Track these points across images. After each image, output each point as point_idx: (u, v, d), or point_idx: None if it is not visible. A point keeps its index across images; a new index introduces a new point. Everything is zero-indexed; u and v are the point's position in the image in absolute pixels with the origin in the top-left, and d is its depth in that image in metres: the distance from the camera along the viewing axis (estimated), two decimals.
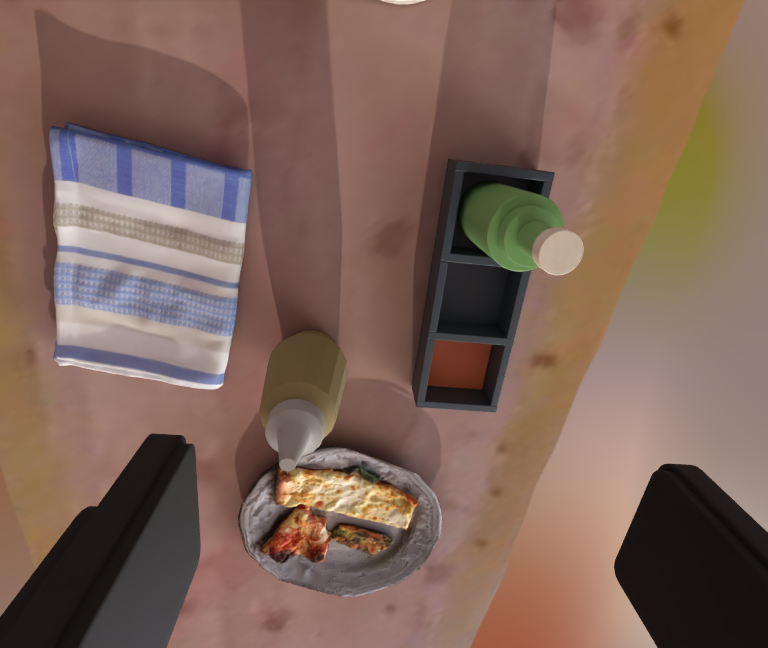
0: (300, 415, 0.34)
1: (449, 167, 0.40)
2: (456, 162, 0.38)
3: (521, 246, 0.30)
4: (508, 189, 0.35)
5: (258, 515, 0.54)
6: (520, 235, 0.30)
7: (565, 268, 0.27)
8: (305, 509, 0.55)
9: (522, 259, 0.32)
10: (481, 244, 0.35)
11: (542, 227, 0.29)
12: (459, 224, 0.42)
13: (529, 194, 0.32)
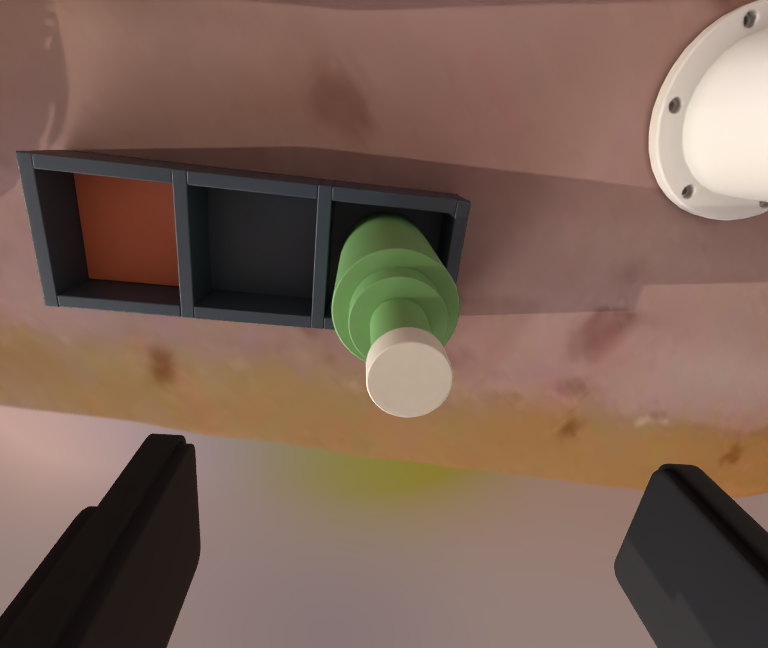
0: None
1: (450, 195, 0.28)
2: (467, 201, 0.26)
3: (390, 307, 0.17)
4: None
5: None
6: (407, 303, 0.17)
7: (379, 393, 0.14)
8: None
9: (361, 312, 0.18)
10: (366, 243, 0.21)
11: None
12: (370, 215, 0.28)
13: (458, 309, 0.20)
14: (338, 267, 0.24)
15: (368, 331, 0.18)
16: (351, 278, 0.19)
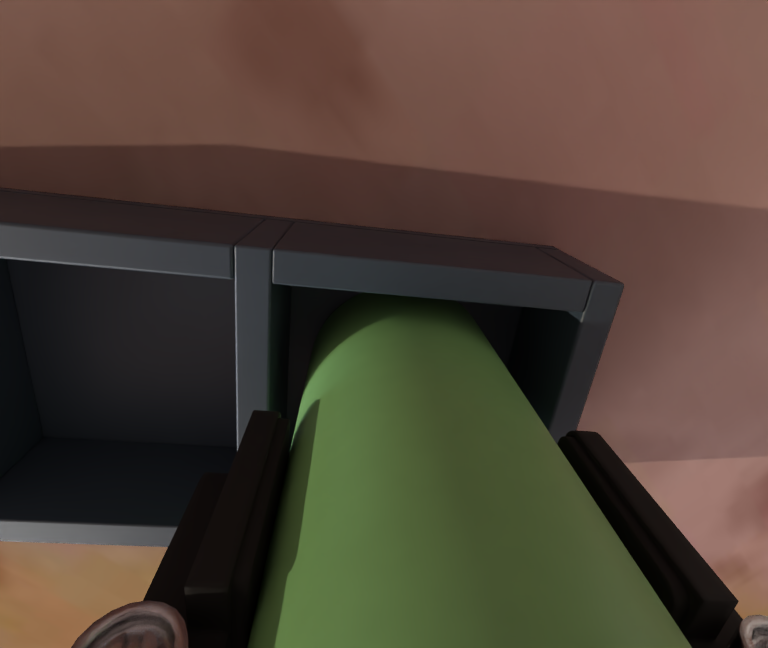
0: None
1: (550, 253, 0.12)
2: (615, 281, 0.10)
3: None
4: None
5: None
6: None
7: None
8: None
9: None
10: (364, 516, 0.05)
11: None
12: (370, 299, 0.12)
13: None
14: (281, 490, 0.08)
15: None
16: None
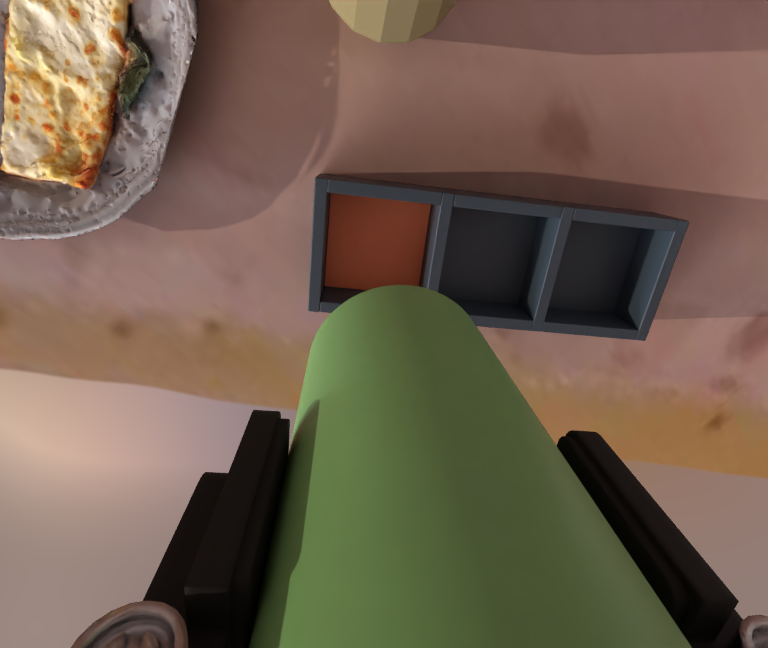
0: None
1: (655, 214, 0.32)
2: (686, 220, 0.29)
3: None
4: None
5: None
6: None
7: None
8: None
9: None
10: (365, 519, 0.05)
11: None
12: (368, 300, 0.12)
13: None
14: (281, 493, 0.08)
15: None
16: None
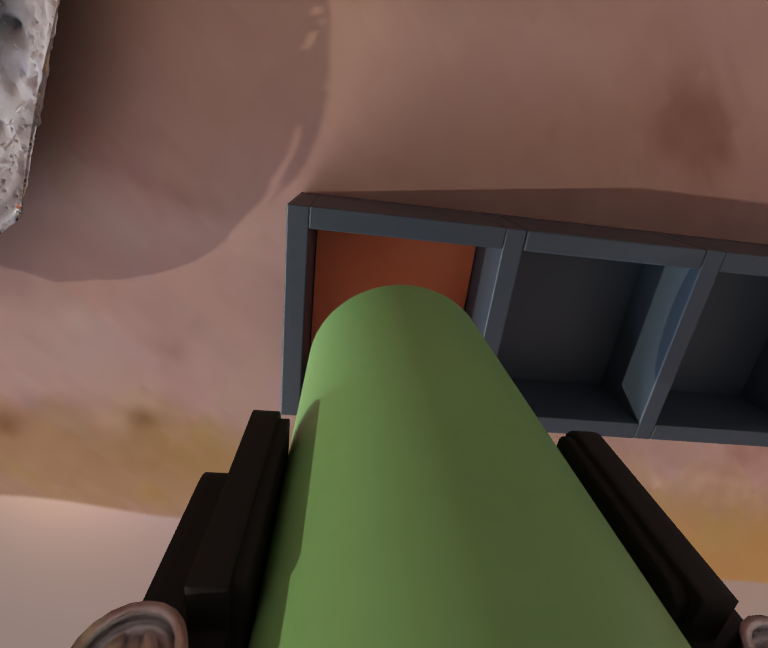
0: None
1: None
2: None
3: None
4: None
5: None
6: None
7: None
8: None
9: None
10: (364, 519, 0.05)
11: None
12: (368, 300, 0.12)
13: None
14: (280, 493, 0.08)
15: None
16: None
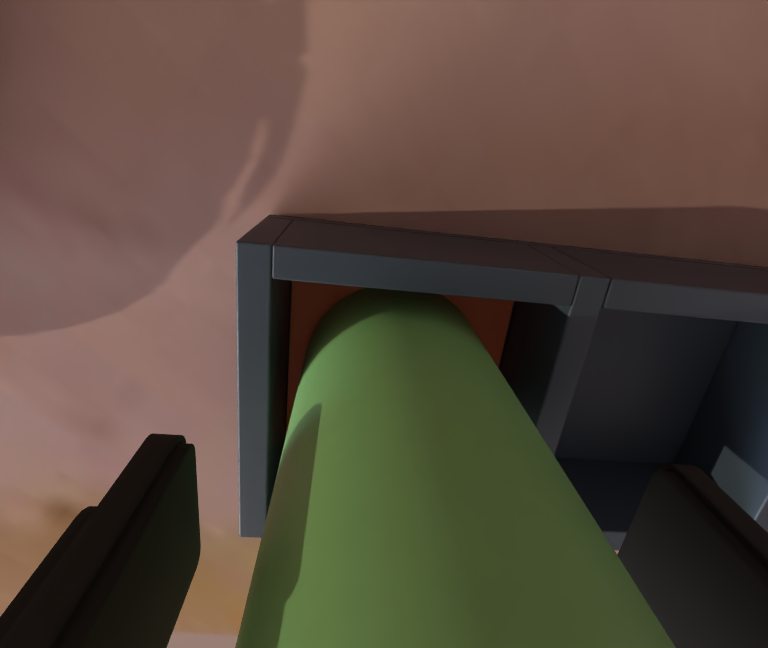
0: None
1: None
2: None
3: None
4: None
5: None
6: None
7: None
8: None
9: None
10: (351, 503, 0.06)
11: None
12: (363, 298, 0.13)
13: None
14: (275, 483, 0.08)
15: None
16: None
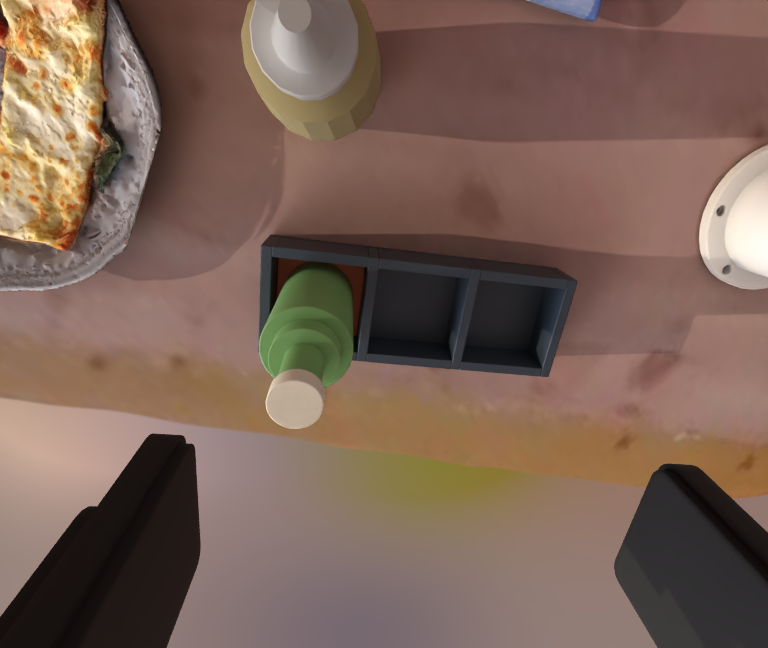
0: (345, 55, 0.19)
1: (555, 270, 0.37)
2: (575, 280, 0.35)
3: (294, 351, 0.24)
4: (352, 321, 0.30)
5: None
6: (307, 347, 0.25)
7: (275, 413, 0.21)
8: None
9: (276, 353, 0.25)
10: (288, 298, 0.28)
11: (321, 374, 0.24)
12: (304, 265, 0.35)
13: (352, 348, 0.27)
14: None
15: None
16: (272, 326, 0.26)
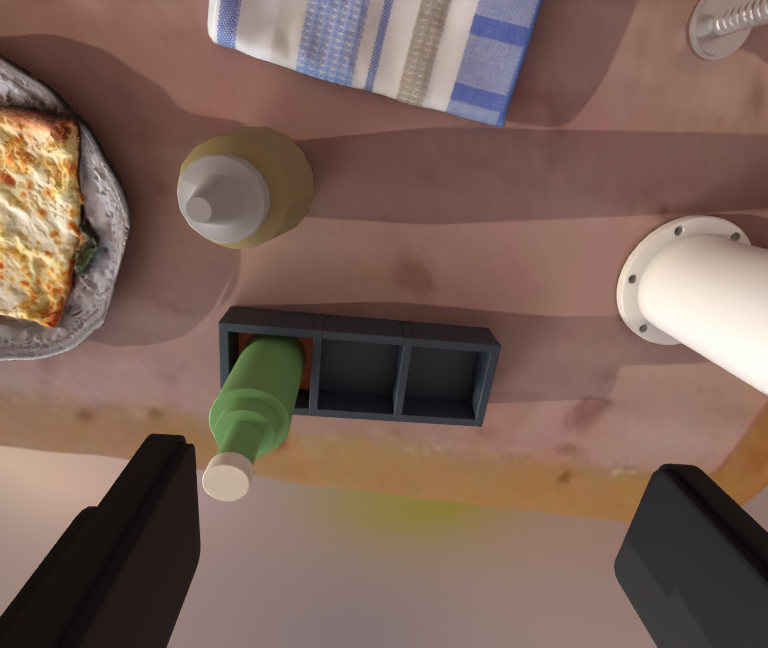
0: (255, 212, 0.24)
1: (485, 332, 0.42)
2: (499, 344, 0.40)
3: (233, 430, 0.29)
4: (294, 391, 0.35)
5: None
6: (245, 426, 0.30)
7: (210, 489, 0.26)
8: None
9: (220, 429, 0.30)
10: (235, 376, 0.33)
11: (253, 451, 0.28)
12: (260, 334, 0.40)
13: (288, 420, 0.32)
14: None
15: None
16: (219, 404, 0.31)
